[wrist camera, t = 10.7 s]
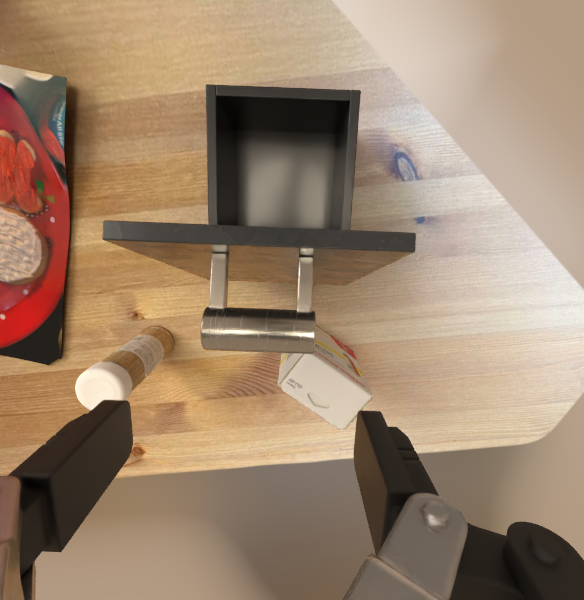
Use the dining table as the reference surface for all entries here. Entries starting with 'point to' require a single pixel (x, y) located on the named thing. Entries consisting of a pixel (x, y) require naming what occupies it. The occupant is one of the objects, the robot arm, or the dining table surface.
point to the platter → (32, 214)
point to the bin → (281, 156)
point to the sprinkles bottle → (124, 368)
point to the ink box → (326, 381)
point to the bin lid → (262, 272)
